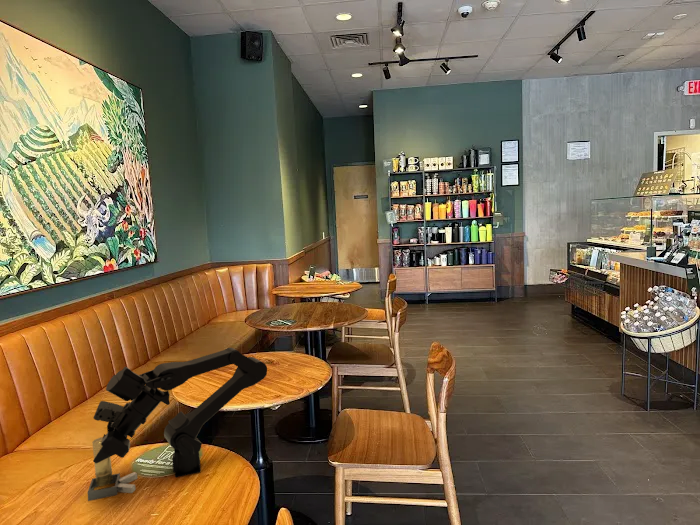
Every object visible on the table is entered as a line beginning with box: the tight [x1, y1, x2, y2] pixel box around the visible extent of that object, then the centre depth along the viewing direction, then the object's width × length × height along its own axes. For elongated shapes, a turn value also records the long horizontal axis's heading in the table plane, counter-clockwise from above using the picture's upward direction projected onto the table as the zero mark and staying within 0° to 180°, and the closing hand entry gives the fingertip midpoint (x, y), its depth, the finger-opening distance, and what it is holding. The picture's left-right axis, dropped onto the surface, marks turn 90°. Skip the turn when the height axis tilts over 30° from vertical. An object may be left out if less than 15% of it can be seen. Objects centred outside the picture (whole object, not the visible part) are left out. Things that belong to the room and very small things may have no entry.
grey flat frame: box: [87, 471, 138, 502], centre depth 116 cm, size 11×8×2 cm
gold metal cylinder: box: [91, 436, 113, 487], centre depth 115 cm, size 4×4×11 cm
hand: (96, 458), depth 114 cm, fingers closed on gold metal cylinder, 4 cm apart
